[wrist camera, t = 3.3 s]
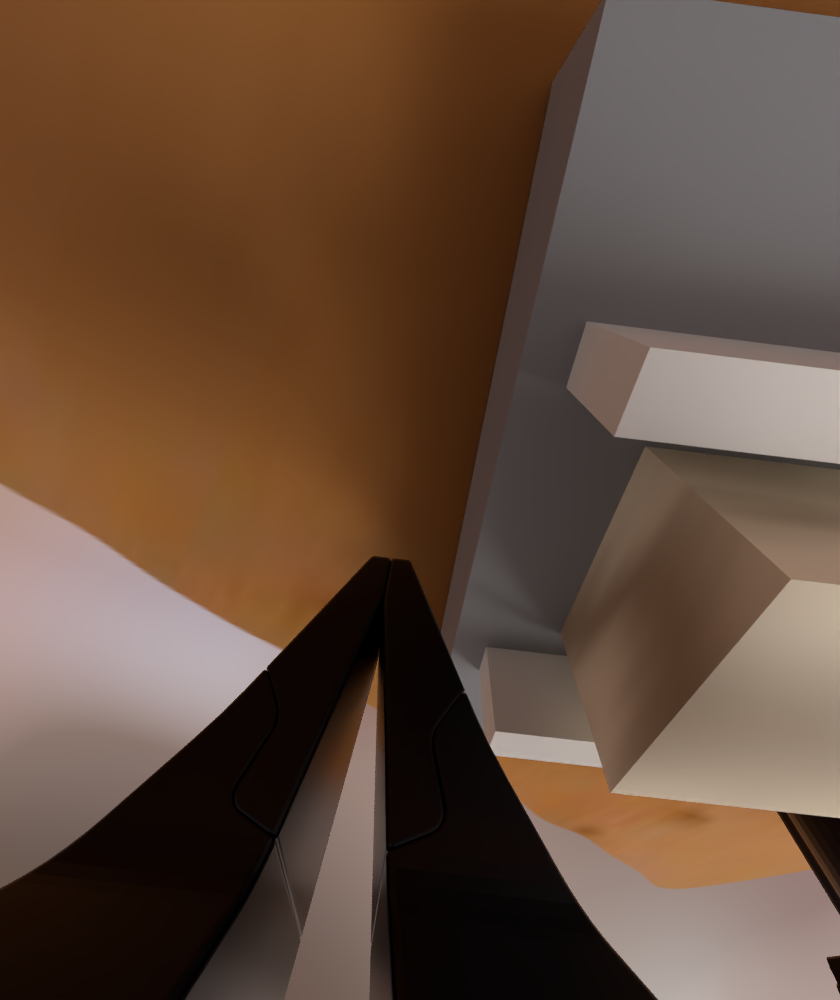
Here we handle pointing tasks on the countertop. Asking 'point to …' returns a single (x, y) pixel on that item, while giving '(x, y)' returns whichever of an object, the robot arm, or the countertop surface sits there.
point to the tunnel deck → (647, 320)
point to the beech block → (716, 634)
